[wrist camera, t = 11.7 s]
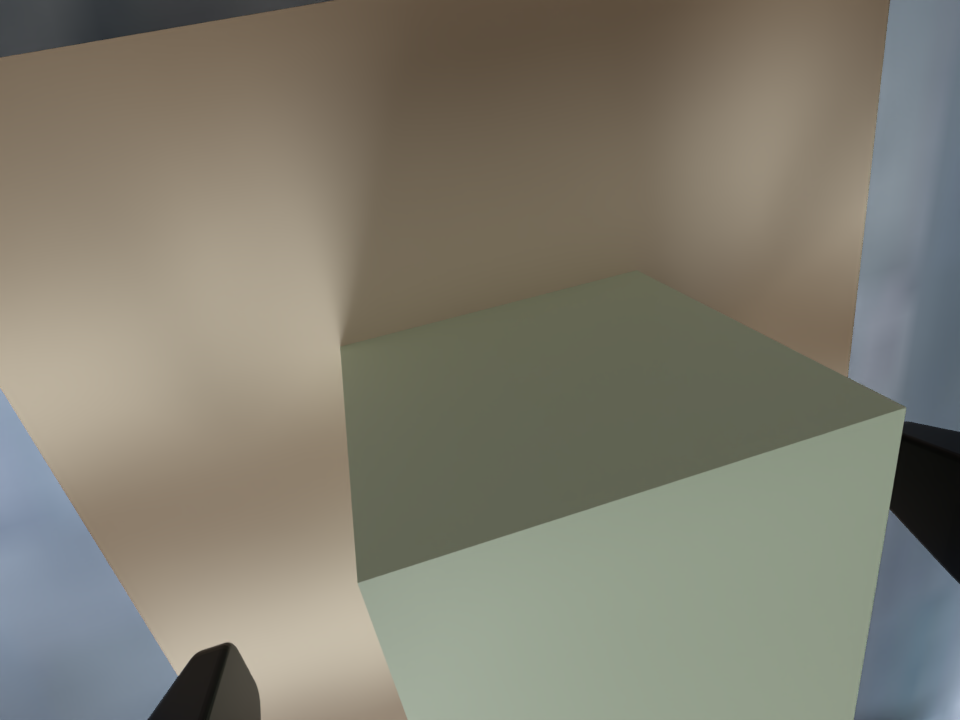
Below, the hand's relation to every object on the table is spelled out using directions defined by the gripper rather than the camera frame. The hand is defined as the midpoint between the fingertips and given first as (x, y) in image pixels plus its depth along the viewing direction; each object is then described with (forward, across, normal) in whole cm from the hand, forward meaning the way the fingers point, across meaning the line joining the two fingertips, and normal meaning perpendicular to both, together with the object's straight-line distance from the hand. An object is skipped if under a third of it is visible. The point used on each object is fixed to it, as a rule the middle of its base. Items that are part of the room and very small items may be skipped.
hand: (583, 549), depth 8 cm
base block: (+6, 0, 0) cm, 6 cm away
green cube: (+3, 0, 0) cm, 3 cm away
